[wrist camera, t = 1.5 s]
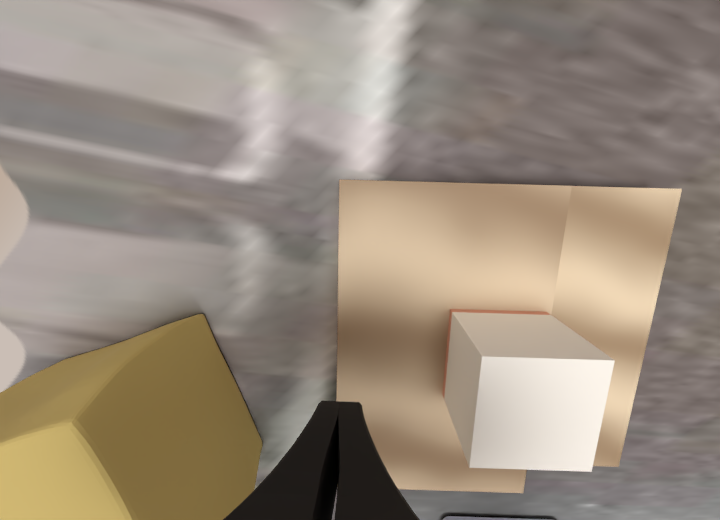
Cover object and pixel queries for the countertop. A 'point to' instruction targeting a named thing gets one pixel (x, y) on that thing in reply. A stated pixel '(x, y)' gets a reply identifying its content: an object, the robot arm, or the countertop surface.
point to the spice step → (486, 300)
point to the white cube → (524, 390)
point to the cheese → (129, 433)
